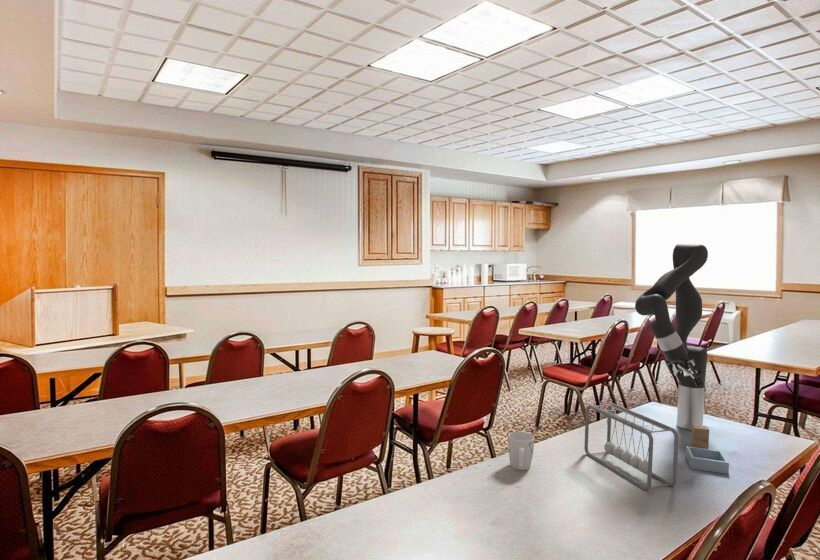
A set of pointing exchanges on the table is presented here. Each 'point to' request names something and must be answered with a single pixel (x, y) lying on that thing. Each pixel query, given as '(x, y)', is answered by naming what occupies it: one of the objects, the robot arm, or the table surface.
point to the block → (700, 436)
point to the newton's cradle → (626, 455)
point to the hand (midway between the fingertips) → (692, 385)
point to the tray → (707, 460)
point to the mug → (520, 449)
